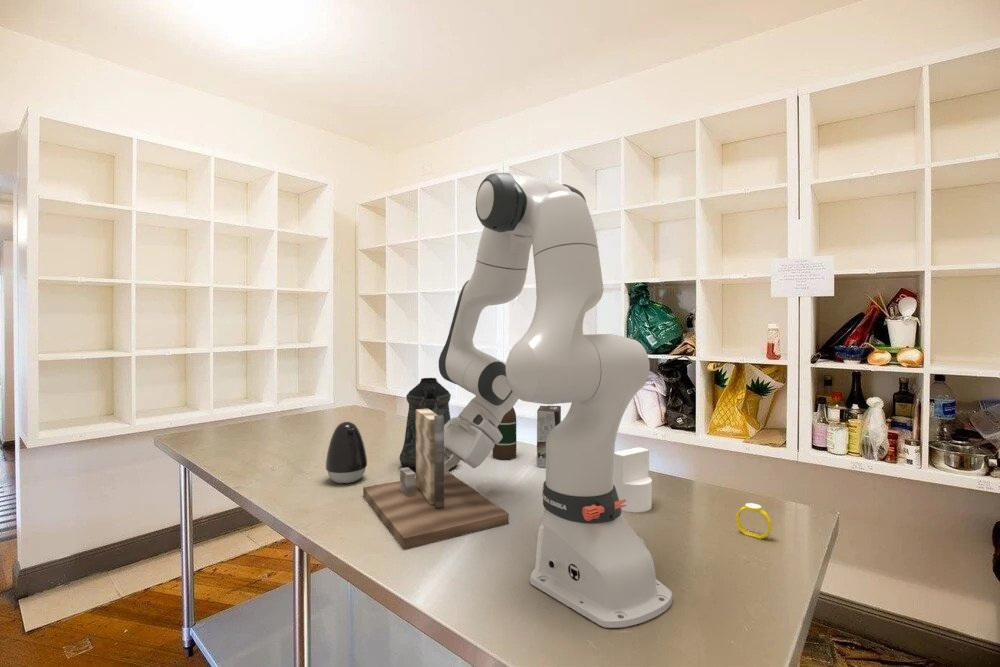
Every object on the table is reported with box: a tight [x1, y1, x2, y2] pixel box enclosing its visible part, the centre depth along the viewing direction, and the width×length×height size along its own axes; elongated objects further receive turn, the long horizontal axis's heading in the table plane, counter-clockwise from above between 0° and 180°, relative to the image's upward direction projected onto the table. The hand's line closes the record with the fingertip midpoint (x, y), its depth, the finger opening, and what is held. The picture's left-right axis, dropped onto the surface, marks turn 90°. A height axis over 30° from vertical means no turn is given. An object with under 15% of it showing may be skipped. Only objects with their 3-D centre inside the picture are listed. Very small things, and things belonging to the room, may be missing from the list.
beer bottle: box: [491, 406, 517, 461], centre depth 143 cm, size 8×8×24 cm
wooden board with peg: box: [362, 467, 510, 550], centre depth 104 cm, size 30×22×7 cm
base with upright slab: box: [613, 446, 653, 513], centre depth 106 cm, size 9×9×12 cm
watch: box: [735, 502, 773, 540], centre depth 91 cm, size 6×3×6 cm, turn 49°
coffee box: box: [536, 405, 562, 468], centre depth 136 cm, size 9×6×16 cm
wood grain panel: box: [416, 409, 444, 508], centre depth 105 cm, size 16×3×19 cm, turn 24°
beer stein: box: [399, 377, 458, 473], centre depth 132 cm, size 16×19×25 cm
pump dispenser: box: [325, 421, 368, 484], centre depth 122 cm, size 10×10×15 cm
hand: (439, 469), depth 107 cm, fingers closed
